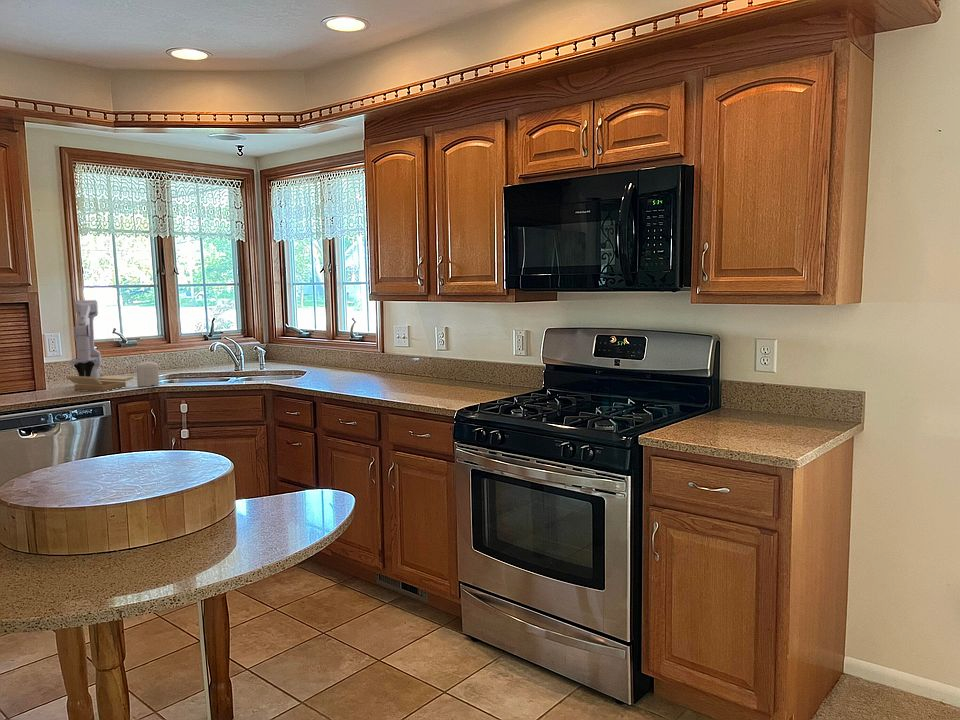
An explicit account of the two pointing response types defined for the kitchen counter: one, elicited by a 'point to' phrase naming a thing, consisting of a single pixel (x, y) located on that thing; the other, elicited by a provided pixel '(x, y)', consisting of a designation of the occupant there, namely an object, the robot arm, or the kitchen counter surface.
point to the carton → (100, 386)
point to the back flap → (115, 378)
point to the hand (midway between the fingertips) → (85, 377)
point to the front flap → (84, 380)
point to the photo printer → (147, 374)
